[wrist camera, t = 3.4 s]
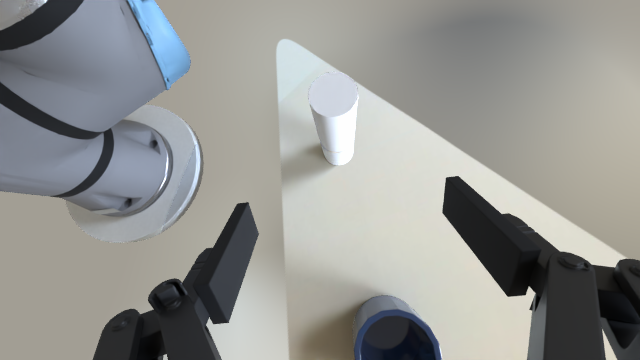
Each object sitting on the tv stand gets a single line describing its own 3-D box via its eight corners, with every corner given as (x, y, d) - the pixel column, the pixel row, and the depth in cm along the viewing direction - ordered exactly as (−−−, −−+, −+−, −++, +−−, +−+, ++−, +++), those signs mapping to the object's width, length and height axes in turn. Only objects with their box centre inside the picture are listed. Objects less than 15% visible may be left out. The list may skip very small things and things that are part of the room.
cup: (345, 356, 30) (344, 386, 24) (362, 286, 31) (365, 298, 26) (414, 382, 29) (432, 420, 23) (429, 307, 30) (449, 326, 24)
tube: (357, 143, 35) (366, 80, 21) (345, 169, 35) (345, 124, 20) (330, 132, 36) (320, 65, 22) (318, 158, 36) (299, 106, 21)
